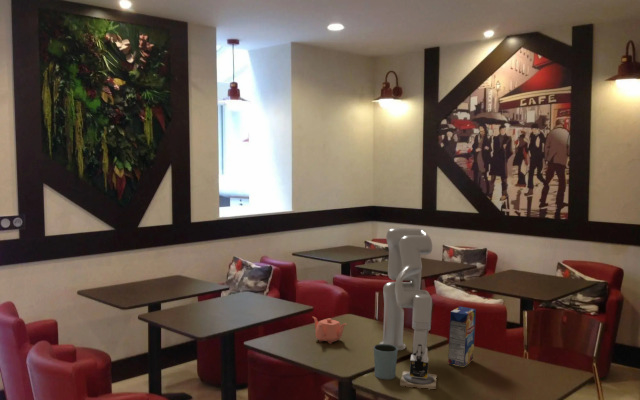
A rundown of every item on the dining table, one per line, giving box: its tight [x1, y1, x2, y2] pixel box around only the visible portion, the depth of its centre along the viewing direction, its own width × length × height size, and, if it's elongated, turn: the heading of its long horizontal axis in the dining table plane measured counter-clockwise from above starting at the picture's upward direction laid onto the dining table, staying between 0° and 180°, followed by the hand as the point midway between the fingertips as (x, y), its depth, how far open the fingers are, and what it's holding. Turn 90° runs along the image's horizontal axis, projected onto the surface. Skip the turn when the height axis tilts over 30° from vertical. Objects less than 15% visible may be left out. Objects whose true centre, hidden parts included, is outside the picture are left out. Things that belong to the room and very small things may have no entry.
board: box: [399, 370, 438, 390], centre depth 241 cm, size 14×14×2 cm
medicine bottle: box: [409, 346, 429, 379], centre depth 240 cm, size 7×7×12 cm
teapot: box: [312, 316, 347, 344], centre depth 290 cm, size 14×14×11 cm
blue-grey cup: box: [373, 343, 399, 380], centre depth 246 cm, size 10×10×12 cm
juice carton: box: [447, 306, 477, 366], centre depth 264 cm, size 12×8×24 cm, turn 147°
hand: (419, 366), depth 240 cm, fingers closed on medicine bottle, 7 cm apart
